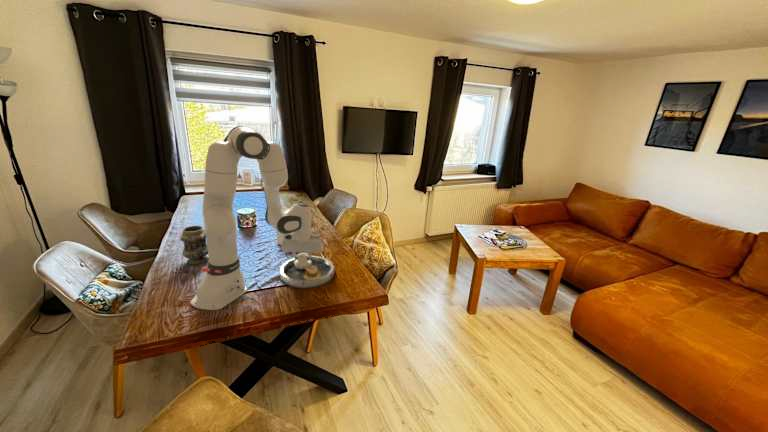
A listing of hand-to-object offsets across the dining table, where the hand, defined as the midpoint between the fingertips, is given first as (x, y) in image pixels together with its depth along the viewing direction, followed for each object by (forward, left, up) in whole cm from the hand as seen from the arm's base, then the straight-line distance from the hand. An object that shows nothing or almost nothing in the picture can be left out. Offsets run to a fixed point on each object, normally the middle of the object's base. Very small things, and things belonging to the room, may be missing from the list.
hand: (302, 259), depth 154 cm
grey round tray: (-4, -4, -5) cm, 8 cm away
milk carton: (+24, +22, -5) cm, 32 cm away
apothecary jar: (-9, +53, -5) cm, 54 cm away
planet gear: (0, 0, -3) cm, 3 cm away
